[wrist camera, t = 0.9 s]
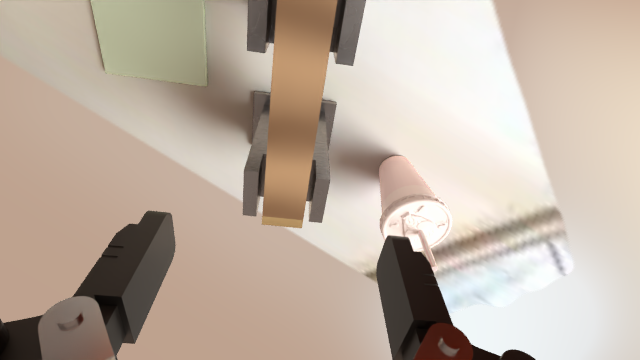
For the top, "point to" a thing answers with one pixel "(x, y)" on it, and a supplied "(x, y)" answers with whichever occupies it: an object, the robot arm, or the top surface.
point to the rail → (295, 105)
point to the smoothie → (411, 207)
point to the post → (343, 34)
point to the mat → (153, 39)
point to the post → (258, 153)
